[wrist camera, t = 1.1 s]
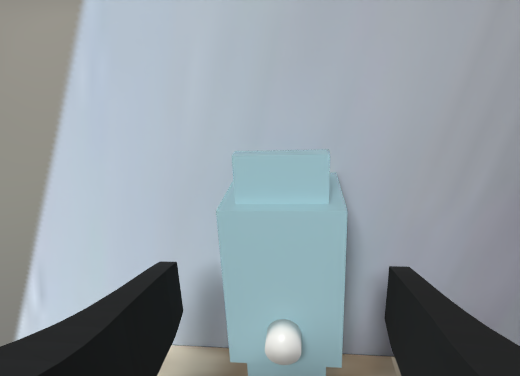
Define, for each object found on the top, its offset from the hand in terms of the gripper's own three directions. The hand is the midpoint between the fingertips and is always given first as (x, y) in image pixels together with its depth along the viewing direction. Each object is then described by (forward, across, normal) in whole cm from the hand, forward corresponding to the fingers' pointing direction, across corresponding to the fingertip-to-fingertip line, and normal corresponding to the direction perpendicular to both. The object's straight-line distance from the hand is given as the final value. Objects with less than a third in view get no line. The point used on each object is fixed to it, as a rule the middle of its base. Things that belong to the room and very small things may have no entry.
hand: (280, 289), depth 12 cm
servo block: (+4, 0, 0) cm, 4 cm away
